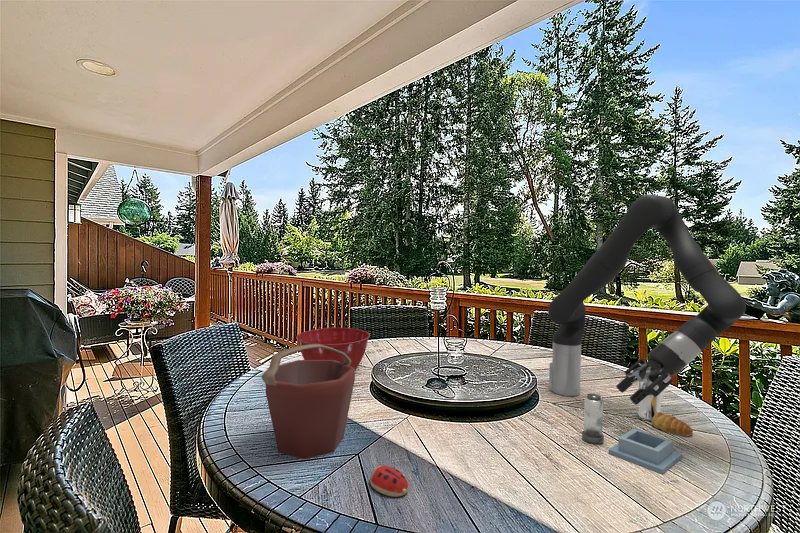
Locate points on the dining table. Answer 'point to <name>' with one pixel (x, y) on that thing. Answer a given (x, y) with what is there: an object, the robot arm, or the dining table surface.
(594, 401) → the thermos
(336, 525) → the dining table surface
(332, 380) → the bucket
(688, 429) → the pastry
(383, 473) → the ladybug figurine
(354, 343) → the mixing bowl
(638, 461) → the dock
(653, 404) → the beer glass
